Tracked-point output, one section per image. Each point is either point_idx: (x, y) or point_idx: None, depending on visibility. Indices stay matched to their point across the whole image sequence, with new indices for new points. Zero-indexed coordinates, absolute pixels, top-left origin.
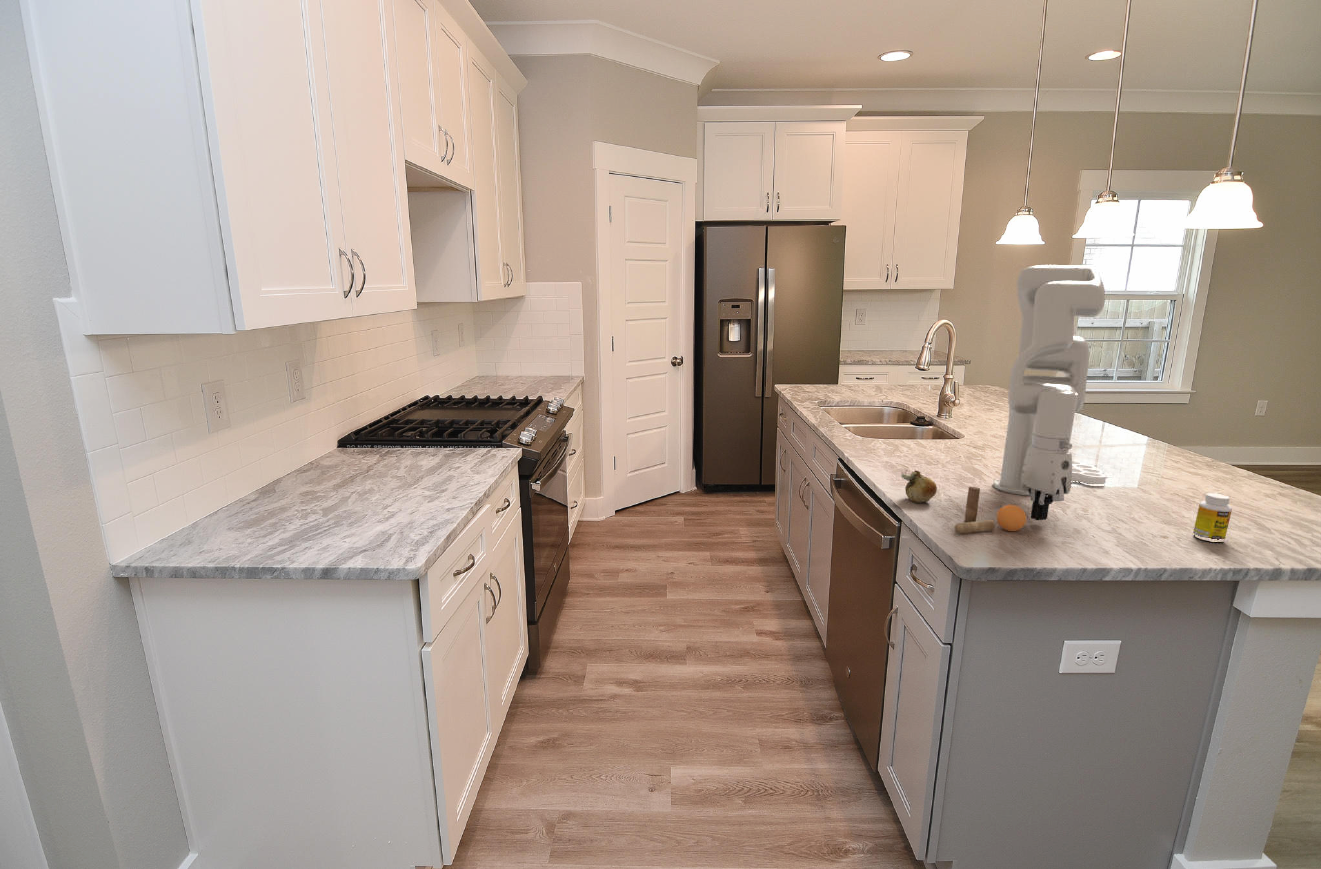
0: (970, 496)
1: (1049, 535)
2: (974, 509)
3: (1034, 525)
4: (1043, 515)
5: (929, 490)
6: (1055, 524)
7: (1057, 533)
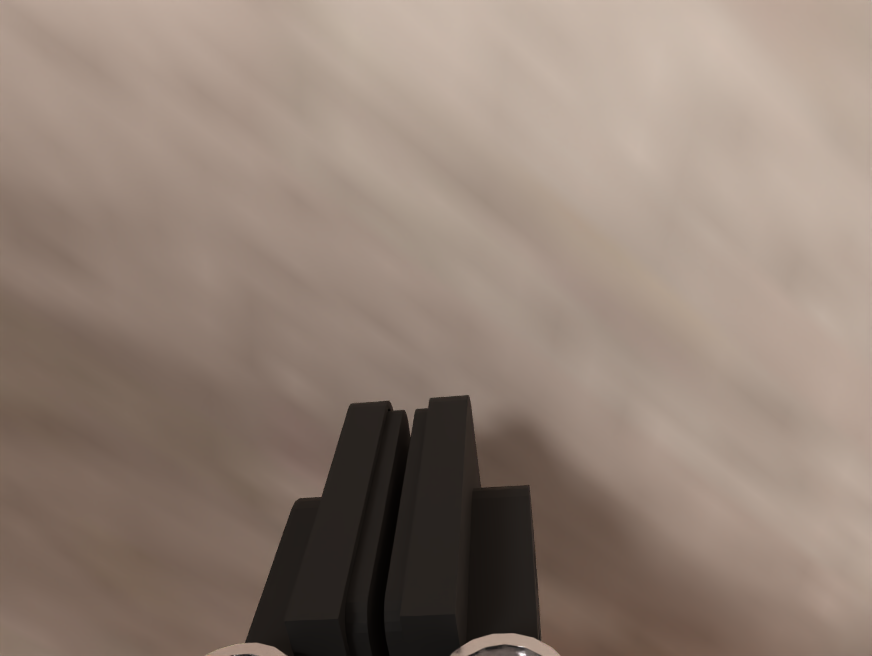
0: None
1: (821, 540)
2: None
3: None
4: (535, 563)
5: None
6: (449, 148)
7: (797, 398)
